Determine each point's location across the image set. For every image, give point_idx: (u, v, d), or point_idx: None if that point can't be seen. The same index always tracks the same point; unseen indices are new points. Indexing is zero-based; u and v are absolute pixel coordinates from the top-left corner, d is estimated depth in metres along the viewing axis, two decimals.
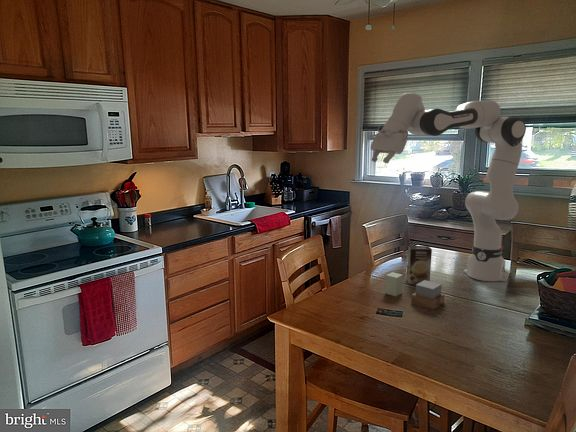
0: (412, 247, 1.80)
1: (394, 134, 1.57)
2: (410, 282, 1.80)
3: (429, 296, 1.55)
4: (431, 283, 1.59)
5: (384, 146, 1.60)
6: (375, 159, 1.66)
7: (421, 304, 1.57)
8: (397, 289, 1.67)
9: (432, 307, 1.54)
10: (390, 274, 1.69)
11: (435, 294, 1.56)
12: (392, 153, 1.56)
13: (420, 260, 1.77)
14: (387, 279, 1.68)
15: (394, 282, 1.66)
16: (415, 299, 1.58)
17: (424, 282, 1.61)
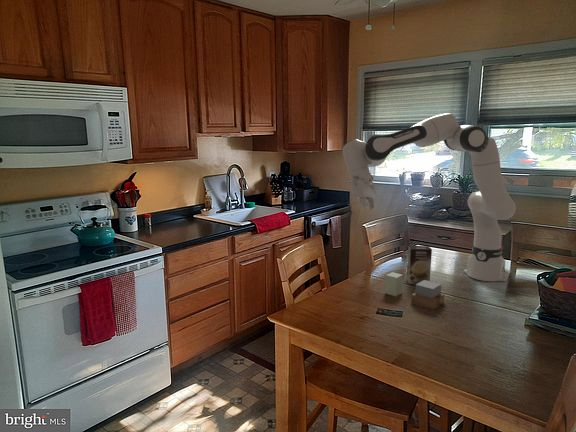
0: (412, 247, 1.80)
1: None
2: (410, 282, 1.80)
3: (429, 296, 1.55)
4: (431, 283, 1.59)
5: None
6: (371, 206, 1.74)
7: (421, 304, 1.57)
8: (397, 289, 1.67)
9: (432, 307, 1.54)
10: (390, 274, 1.69)
11: (435, 294, 1.56)
12: (362, 198, 1.65)
13: (420, 260, 1.77)
14: (387, 279, 1.68)
15: (394, 282, 1.66)
16: (415, 299, 1.58)
17: (424, 282, 1.61)
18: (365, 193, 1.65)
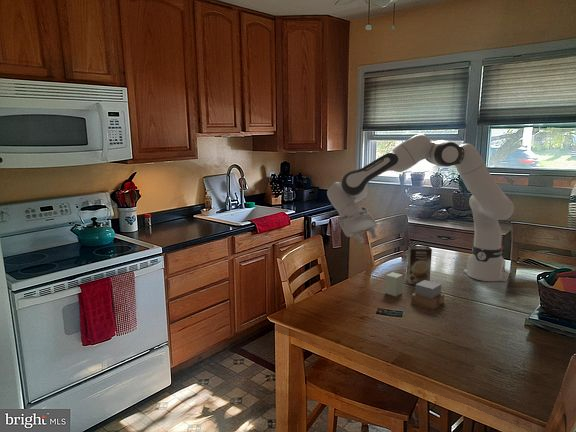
0: (412, 247, 1.80)
1: None
2: (410, 282, 1.80)
3: (428, 296, 1.55)
4: (431, 283, 1.60)
5: None
6: (373, 236, 1.78)
7: (421, 304, 1.57)
8: (397, 289, 1.67)
9: (432, 307, 1.54)
10: (390, 274, 1.69)
11: (435, 294, 1.56)
12: (355, 234, 1.72)
13: (420, 260, 1.77)
14: (387, 279, 1.68)
15: (394, 282, 1.66)
16: (414, 300, 1.58)
17: (424, 282, 1.61)
18: (356, 229, 1.72)
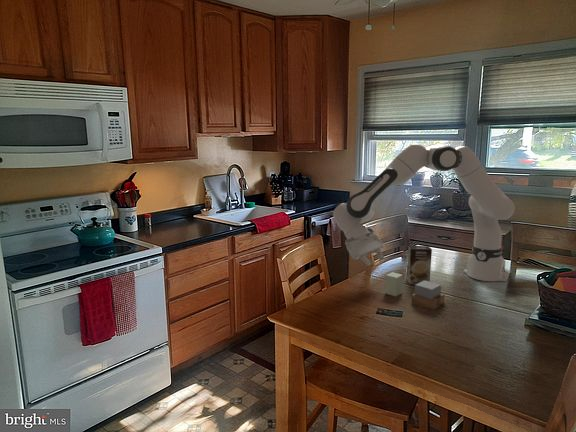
0: (412, 247, 1.80)
1: None
2: (410, 282, 1.80)
3: (428, 296, 1.55)
4: (431, 283, 1.59)
5: None
6: (380, 258, 1.77)
7: (421, 304, 1.57)
8: (397, 289, 1.67)
9: (432, 307, 1.54)
10: (390, 274, 1.69)
11: (434, 295, 1.55)
12: (361, 257, 1.71)
13: (420, 260, 1.77)
14: (387, 279, 1.68)
15: (394, 282, 1.66)
16: (415, 300, 1.58)
17: (424, 282, 1.60)
18: (362, 251, 1.71)
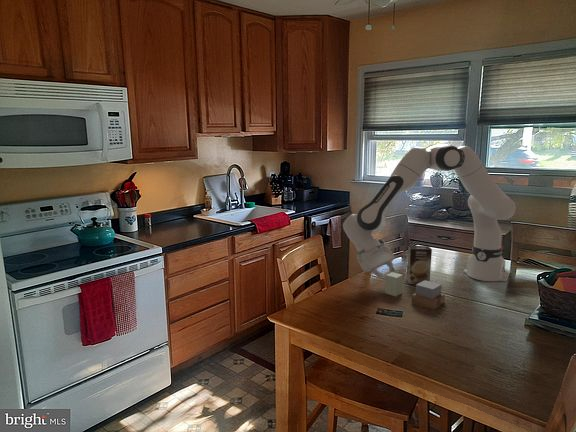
0: (412, 247, 1.80)
1: None
2: (410, 282, 1.80)
3: (429, 296, 1.55)
4: (431, 283, 1.59)
5: None
6: (391, 270, 1.74)
7: (421, 304, 1.57)
8: (397, 289, 1.67)
9: (432, 307, 1.54)
10: (390, 274, 1.69)
11: (435, 294, 1.56)
12: (373, 270, 1.68)
13: (420, 260, 1.77)
14: (387, 279, 1.68)
15: (394, 282, 1.66)
16: (415, 300, 1.58)
17: (424, 282, 1.60)
18: (374, 264, 1.68)
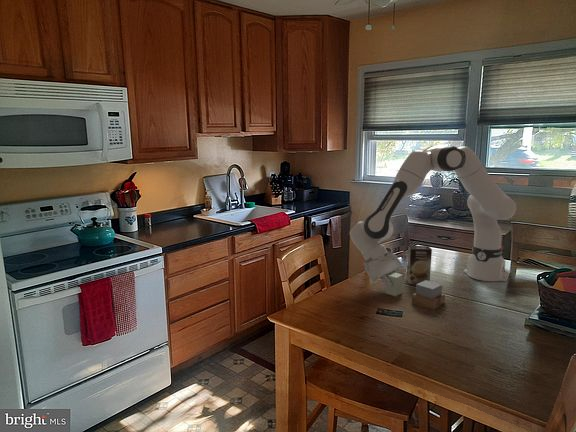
0: (412, 247, 1.80)
1: None
2: (410, 282, 1.80)
3: (429, 296, 1.55)
4: (432, 283, 1.59)
5: None
6: None
7: (421, 304, 1.57)
8: (397, 289, 1.67)
9: (432, 307, 1.54)
10: (390, 274, 1.69)
11: (435, 294, 1.56)
12: (382, 278, 1.67)
13: (420, 260, 1.77)
14: None
15: (394, 282, 1.66)
16: (415, 299, 1.58)
17: (425, 282, 1.60)
18: (382, 273, 1.66)
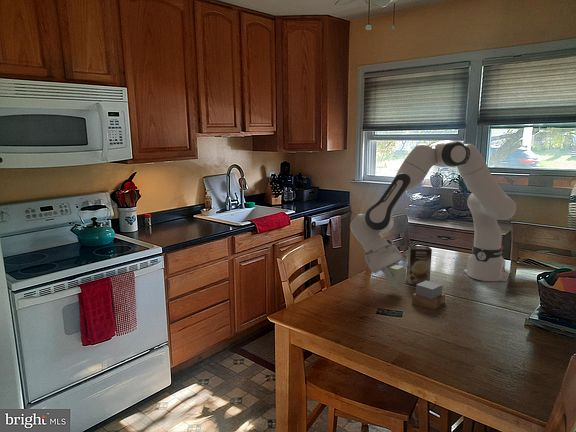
0: (412, 247, 1.80)
1: None
2: (410, 282, 1.80)
3: (429, 296, 1.55)
4: (432, 283, 1.59)
5: None
6: None
7: (422, 304, 1.57)
8: (398, 281, 1.66)
9: (433, 307, 1.54)
10: (391, 266, 1.69)
11: (435, 295, 1.55)
12: (383, 270, 1.66)
13: (420, 260, 1.77)
14: None
15: (395, 274, 1.65)
16: (415, 299, 1.58)
17: (425, 282, 1.60)
18: (382, 264, 1.65)
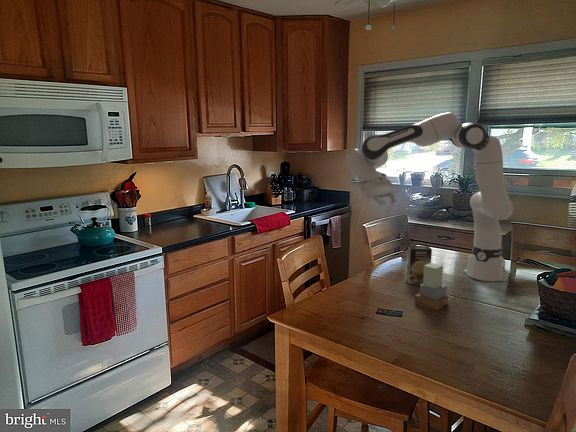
0: (412, 247, 1.80)
1: None
2: (410, 282, 1.80)
3: (432, 297, 1.54)
4: None
5: None
6: (393, 201, 1.80)
7: (425, 305, 1.56)
8: (436, 281, 1.54)
9: (436, 308, 1.53)
10: (429, 265, 1.57)
11: (439, 295, 1.55)
12: (375, 198, 1.74)
13: (420, 260, 1.77)
14: (425, 270, 1.56)
15: (433, 273, 1.53)
16: (418, 300, 1.58)
17: None
18: (376, 192, 1.74)
